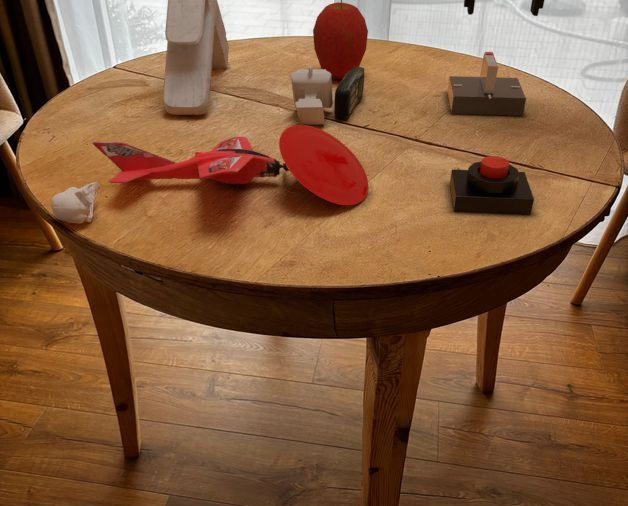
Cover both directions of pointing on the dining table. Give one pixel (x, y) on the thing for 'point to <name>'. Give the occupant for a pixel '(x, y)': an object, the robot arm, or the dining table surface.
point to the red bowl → (323, 165)
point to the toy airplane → (193, 163)
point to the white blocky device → (311, 94)
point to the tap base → (485, 97)
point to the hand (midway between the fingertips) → (501, 13)
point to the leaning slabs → (192, 54)
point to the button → (494, 167)
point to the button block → (490, 191)
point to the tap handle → (488, 73)
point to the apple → (340, 38)
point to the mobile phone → (349, 92)
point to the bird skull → (75, 203)
